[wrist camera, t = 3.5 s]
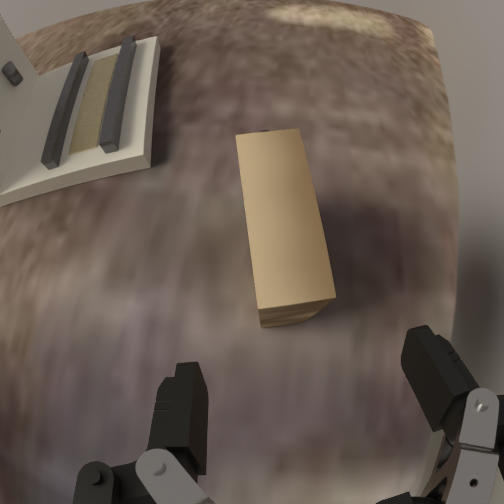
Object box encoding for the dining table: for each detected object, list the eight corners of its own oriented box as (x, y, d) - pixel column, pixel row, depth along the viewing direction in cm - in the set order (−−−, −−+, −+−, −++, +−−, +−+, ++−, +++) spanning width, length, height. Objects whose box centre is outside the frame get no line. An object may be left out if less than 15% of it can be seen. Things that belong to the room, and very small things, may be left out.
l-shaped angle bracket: (1, 206, 26) (-112, 114, 8) (37, 89, 31) (-23, -3, 14) (150, 167, 26) (55, -15, 8) (160, 48, 31) (123, -78, 14)
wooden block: (260, 327, 21) (257, 309, 12) (245, 208, 24) (233, 121, 15) (304, 321, 21) (336, 297, 12) (284, 203, 24) (294, 114, 15)
